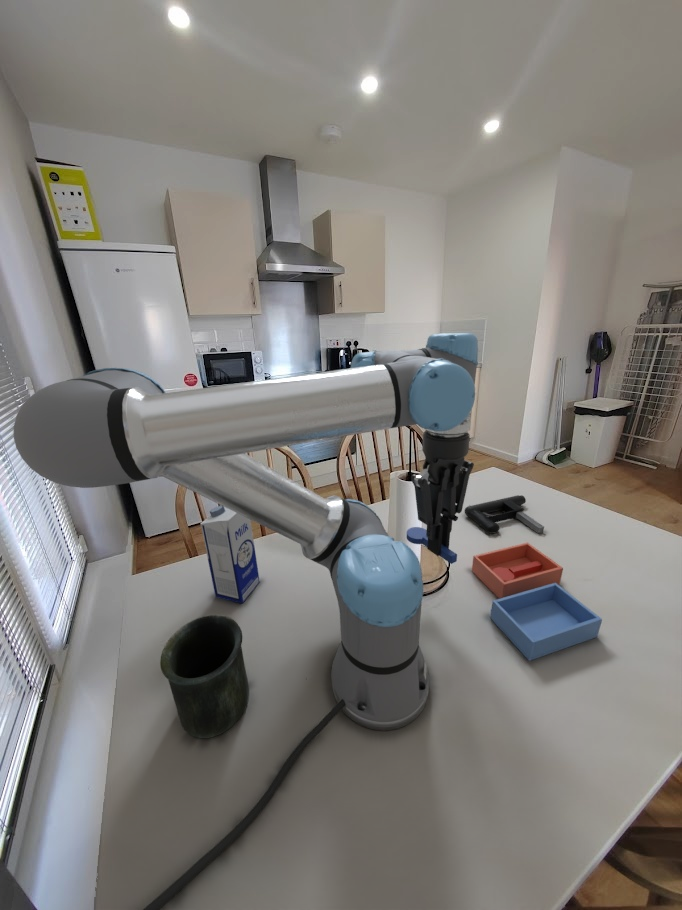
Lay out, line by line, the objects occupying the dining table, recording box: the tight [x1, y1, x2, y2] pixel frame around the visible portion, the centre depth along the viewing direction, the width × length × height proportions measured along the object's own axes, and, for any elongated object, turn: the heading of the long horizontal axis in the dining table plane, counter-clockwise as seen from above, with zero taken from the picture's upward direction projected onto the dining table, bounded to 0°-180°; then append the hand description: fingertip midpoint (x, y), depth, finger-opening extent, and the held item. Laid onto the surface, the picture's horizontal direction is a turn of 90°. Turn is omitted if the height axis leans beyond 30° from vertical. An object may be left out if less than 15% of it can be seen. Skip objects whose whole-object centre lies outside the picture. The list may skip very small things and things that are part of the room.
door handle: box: [464, 494, 545, 534], centre depth 99 cm, size 3×20×16 cm
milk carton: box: [200, 505, 261, 604], centre depth 74 cm, size 7×7×20 cm
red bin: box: [471, 542, 564, 599], centre depth 77 cm, size 15×10×4 cm, turn 107°
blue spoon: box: [406, 526, 458, 565], centre depth 69 cm, size 12×4×2 cm, turn 31°
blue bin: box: [489, 583, 603, 662], centre depth 64 cm, size 15×10×4 cm, turn 107°
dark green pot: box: [159, 614, 250, 739], centre depth 53 cm, size 11×15×12 cm
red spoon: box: [492, 561, 542, 582], centre depth 77 cm, size 12×4×2 cm, turn 107°
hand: (437, 549), depth 67 cm, fingers closed on blue spoon, 1 cm apart
